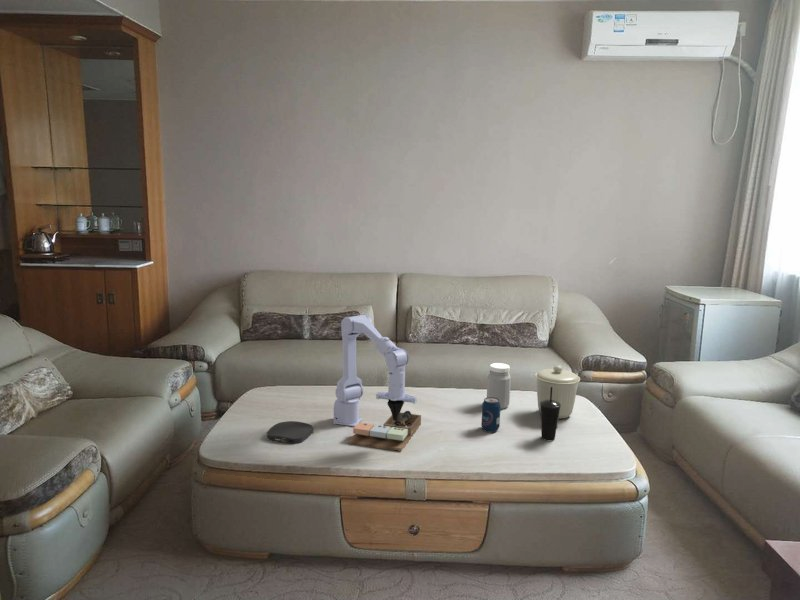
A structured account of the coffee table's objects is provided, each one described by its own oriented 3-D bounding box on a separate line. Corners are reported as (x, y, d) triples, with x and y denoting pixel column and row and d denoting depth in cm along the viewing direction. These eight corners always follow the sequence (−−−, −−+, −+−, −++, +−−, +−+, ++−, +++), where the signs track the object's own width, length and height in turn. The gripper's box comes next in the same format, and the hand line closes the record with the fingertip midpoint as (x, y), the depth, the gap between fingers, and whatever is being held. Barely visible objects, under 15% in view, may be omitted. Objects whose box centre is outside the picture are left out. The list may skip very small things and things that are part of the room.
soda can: (477, 429, 232) (479, 399, 230) (487, 424, 237) (489, 395, 235) (492, 434, 228) (494, 404, 225) (502, 429, 233) (504, 399, 230)
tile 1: (353, 433, 219) (353, 427, 219) (359, 427, 225) (359, 421, 224) (368, 435, 217) (368, 430, 217) (374, 429, 223) (374, 424, 223)
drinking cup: (559, 435, 227) (563, 385, 224) (557, 443, 220) (561, 391, 217) (538, 432, 230) (542, 382, 226) (536, 440, 223) (540, 389, 219)
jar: (492, 400, 265) (494, 360, 261) (513, 405, 259) (515, 365, 256) (482, 406, 257) (484, 365, 254) (503, 411, 251) (505, 370, 248)
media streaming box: (316, 430, 229) (316, 423, 228) (299, 446, 215) (299, 438, 214) (281, 426, 233) (281, 418, 232) (263, 440, 219) (263, 433, 218)
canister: (574, 408, 256) (578, 361, 253) (579, 424, 239) (583, 373, 235) (531, 405, 259) (534, 358, 256) (533, 420, 242) (536, 370, 238)
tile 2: (369, 435, 217) (369, 430, 217) (375, 429, 223) (375, 424, 222) (385, 438, 215) (385, 432, 215) (390, 431, 221) (390, 426, 221)
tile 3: (386, 438, 215) (386, 432, 215) (392, 432, 221) (392, 426, 220) (402, 440, 213) (402, 435, 213) (407, 434, 219) (407, 428, 219)
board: (348, 443, 217) (348, 433, 216) (373, 418, 241) (373, 408, 241) (401, 451, 211) (401, 441, 210) (421, 424, 235) (421, 415, 235)
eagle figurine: (414, 430, 227) (415, 417, 235) (404, 416, 225) (405, 404, 233) (397, 439, 229) (399, 426, 237) (387, 425, 227) (389, 412, 235)
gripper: (373, 384, 210) (373, 421, 212) (413, 389, 206) (412, 426, 208) (380, 378, 216) (379, 414, 219) (418, 383, 212) (417, 419, 215)
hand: (395, 419), depth 214 cm, fingers closed
